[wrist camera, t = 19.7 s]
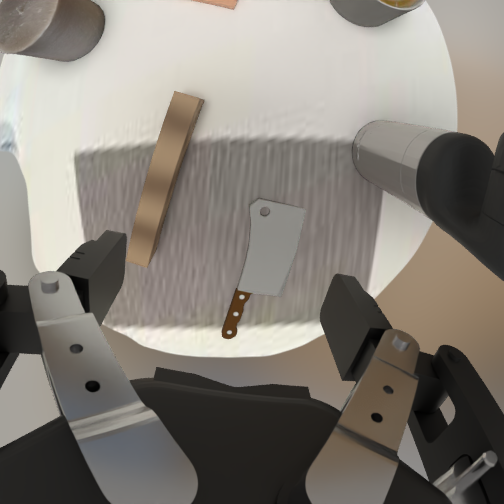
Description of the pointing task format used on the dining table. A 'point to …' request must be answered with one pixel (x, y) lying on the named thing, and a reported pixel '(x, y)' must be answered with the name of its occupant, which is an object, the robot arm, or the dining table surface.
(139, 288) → the dining table surface
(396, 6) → the coffee mug
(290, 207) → the kitchen cleaver
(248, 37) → the dining table surface
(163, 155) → the curved tan slat
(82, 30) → the pillar candle
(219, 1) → the tile
